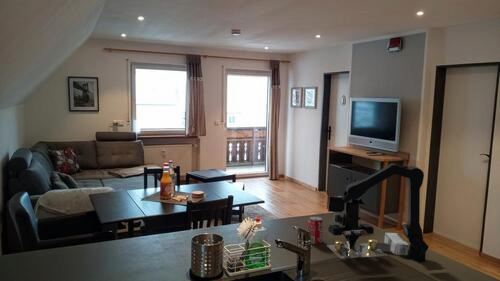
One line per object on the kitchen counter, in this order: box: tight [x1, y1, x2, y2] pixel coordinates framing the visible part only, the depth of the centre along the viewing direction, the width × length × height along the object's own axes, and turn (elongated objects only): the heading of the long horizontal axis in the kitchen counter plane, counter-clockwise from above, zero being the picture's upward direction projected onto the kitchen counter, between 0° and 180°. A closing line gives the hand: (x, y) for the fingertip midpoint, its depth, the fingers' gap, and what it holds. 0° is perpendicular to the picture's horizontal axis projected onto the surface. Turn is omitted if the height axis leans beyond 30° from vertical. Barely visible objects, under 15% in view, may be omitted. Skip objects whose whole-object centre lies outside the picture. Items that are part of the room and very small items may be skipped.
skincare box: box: [331, 195, 346, 227], centre depth 194 cm, size 8×7×16 cm
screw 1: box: [334, 240, 349, 256], centre depth 156 cm, size 9×4×4 cm, turn 12°
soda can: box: [306, 215, 324, 245], centre depth 169 cm, size 7×7×12 cm
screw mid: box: [352, 238, 362, 252], centre depth 161 cm, size 9×4×4 cm, turn 12°
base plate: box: [326, 242, 389, 259], centre depth 160 cm, size 14×22×1 cm, turn 102°
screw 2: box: [367, 238, 391, 252], centre depth 161 cm, size 9×4×4 cm, turn 68°
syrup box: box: [383, 232, 409, 256], centre depth 164 cm, size 6×6×14 cm
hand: (349, 248), depth 158 cm, fingers closed
